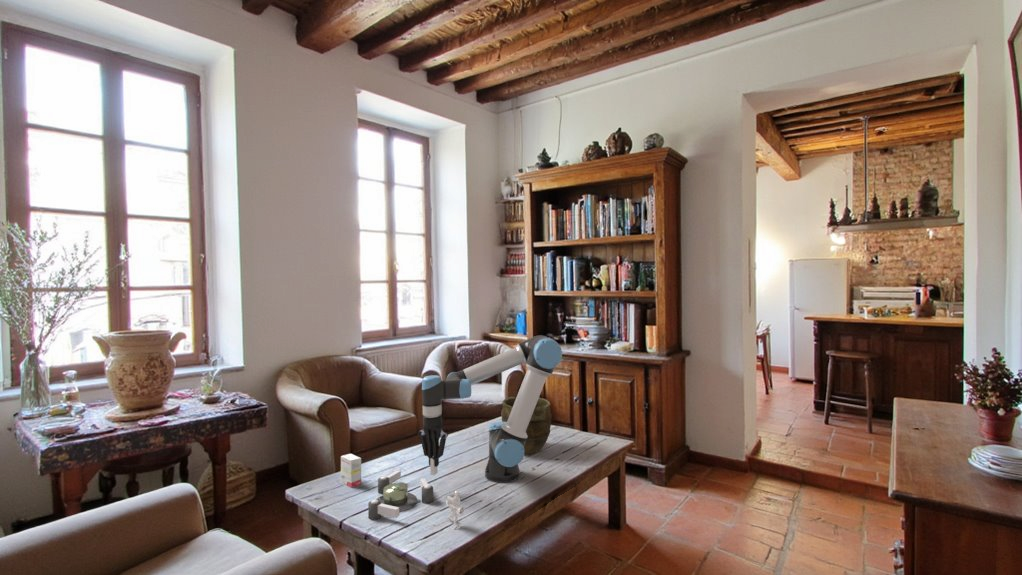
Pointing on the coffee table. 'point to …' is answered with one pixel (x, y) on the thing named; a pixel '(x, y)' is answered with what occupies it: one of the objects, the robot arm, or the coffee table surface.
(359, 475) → the ink box
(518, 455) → the robot arm
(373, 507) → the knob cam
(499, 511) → the coffee table surface
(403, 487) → the base
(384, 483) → the knob far
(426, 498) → the knob near
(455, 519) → the figurine
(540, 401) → the clay pot
